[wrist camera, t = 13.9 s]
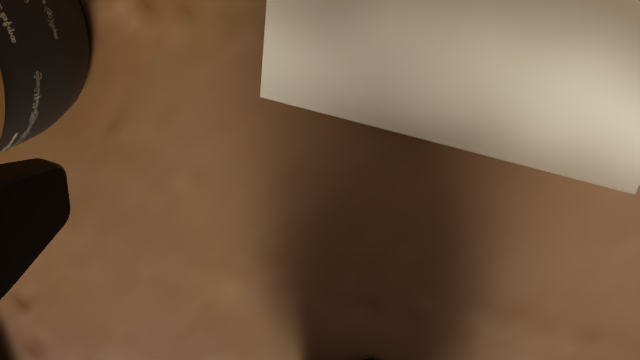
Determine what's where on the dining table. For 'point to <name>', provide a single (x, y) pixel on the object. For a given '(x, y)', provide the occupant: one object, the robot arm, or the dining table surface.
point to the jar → (39, 65)
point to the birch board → (472, 76)
